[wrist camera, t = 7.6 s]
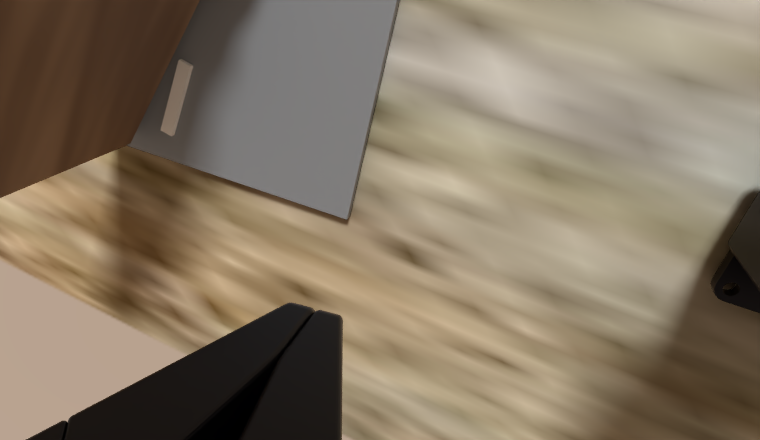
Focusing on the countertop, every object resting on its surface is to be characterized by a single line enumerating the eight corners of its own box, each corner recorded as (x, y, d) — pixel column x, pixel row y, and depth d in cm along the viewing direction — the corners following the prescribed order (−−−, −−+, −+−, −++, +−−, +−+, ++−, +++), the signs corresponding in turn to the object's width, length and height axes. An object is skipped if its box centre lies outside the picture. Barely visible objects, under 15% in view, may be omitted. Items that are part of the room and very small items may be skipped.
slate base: (432, -142, 16) (428, -147, 15) (350, 215, 21) (345, 221, 21) (19, -241, 17) (3, -248, 17) (43, 112, 23) (31, 115, 22)
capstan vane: (293, -128, 16) (53, -229, 8) (148, 154, 21) (-79, 259, 13) (185, -219, 16) (-173, -417, 8) (67, 89, 21) (-215, 158, 13)
